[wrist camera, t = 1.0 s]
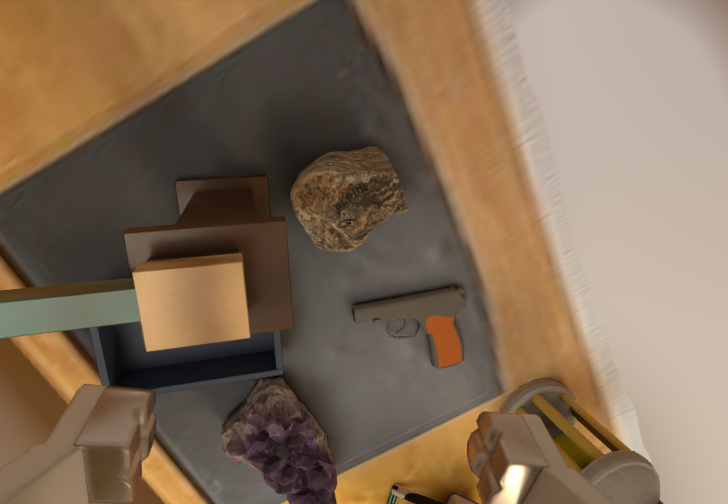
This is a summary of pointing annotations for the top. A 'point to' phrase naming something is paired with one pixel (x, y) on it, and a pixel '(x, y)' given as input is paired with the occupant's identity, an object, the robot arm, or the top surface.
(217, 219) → the stand
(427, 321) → the handgun
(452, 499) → the robotic device
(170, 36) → the top surface
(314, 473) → the geode
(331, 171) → the stone
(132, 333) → the desk bin
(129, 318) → the brush
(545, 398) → the lantern
